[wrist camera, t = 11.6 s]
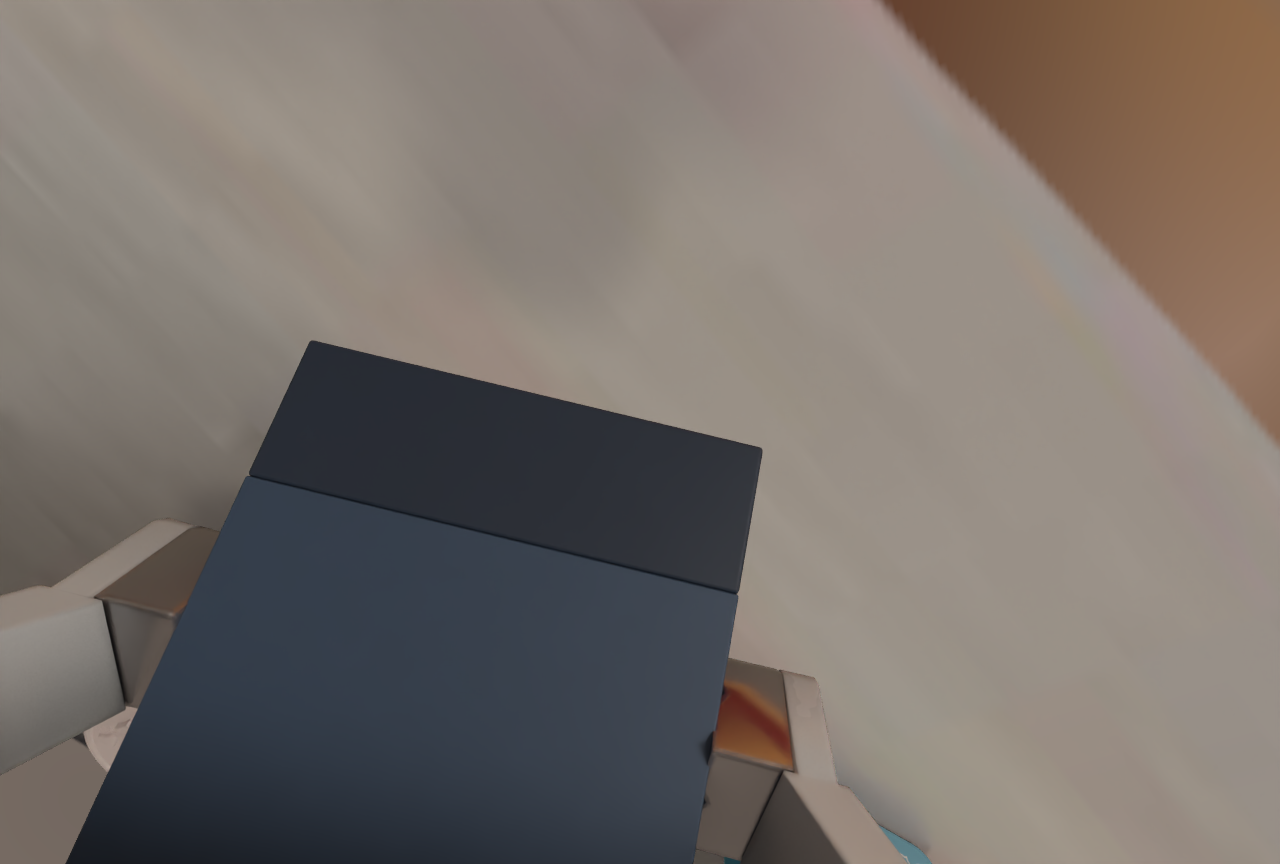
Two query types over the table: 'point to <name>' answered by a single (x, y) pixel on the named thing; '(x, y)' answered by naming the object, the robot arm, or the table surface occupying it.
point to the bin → (442, 637)
